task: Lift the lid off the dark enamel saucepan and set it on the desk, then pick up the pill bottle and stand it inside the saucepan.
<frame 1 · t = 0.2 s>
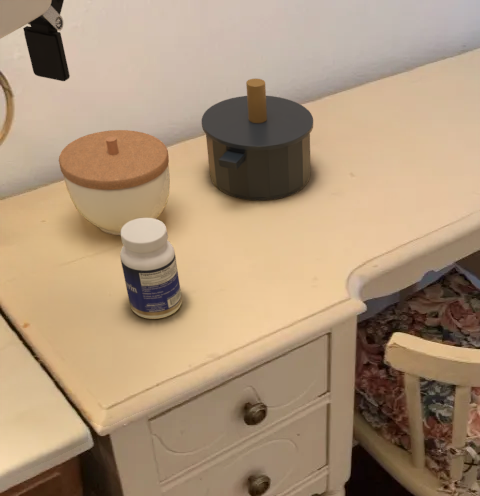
hand: (17, 100, 69), 27 cm above the table, tool pointing down, fingers open, 9 cm apart
pan lid: (258, 123, 110), point 7 cm above the table, touching pan
pan: (260, 174, 115), on the table
lidded bowl: (126, 221, 106), on the table
pill bottle: (156, 306, 94), on the table
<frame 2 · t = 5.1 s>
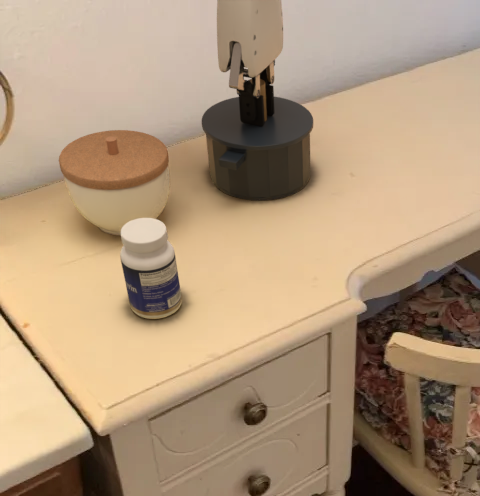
hand: (257, 117, 110), 8 cm above the table, tool pointing down, fingers closed on pan lid, 2 cm apart
pan lid: (258, 123, 110), point 8 cm above the table, touching gripper, pan
everything else where it was.
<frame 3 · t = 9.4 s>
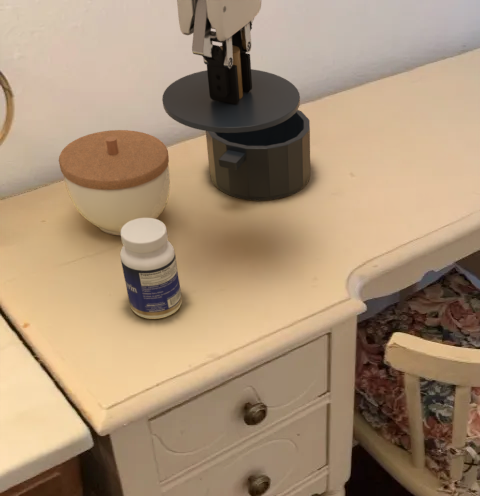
hand: (231, 93, 89), 19 cm above the table, tool pointing down, fingers closed on pan lid, 2 cm apart
pan lid: (232, 101, 90), point 19 cm above the table, touching gripper
everything else where it was.
when the fingers open (1 cm above the table, at t = 13.4 s): pan lid stays where it is, point 1 cm above the table.
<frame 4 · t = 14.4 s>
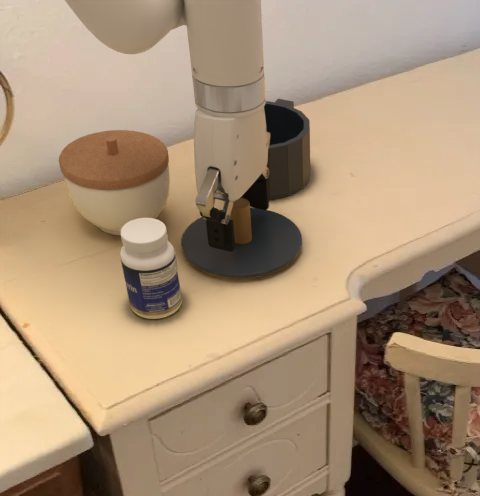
hand: (239, 226, 101), 3 cm above the table, tool pointing down, fingers open, 9 cm apart
pan lid: (242, 243, 102), point 1 cm above the table
everything else where it was.
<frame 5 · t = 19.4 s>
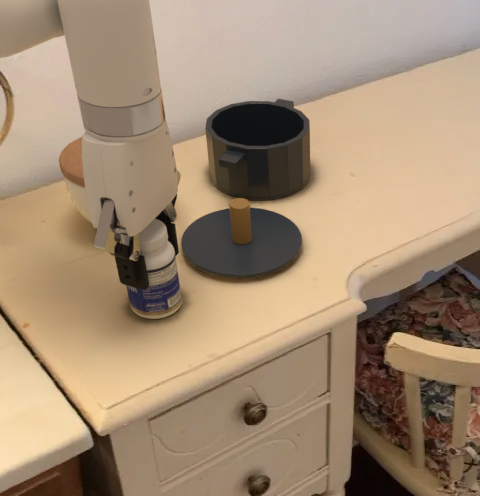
hand: (150, 267, 90), 5 cm above the table, tool pointing down, fingers closed on pill bottle, 5 cm apart
pill bottle: (156, 306, 94), on the table, touching gripper
everything else where it was.
when the fingers open (6 cm above the table, at t = 28.8 s): pill bottle stays where it is, resting on pan.
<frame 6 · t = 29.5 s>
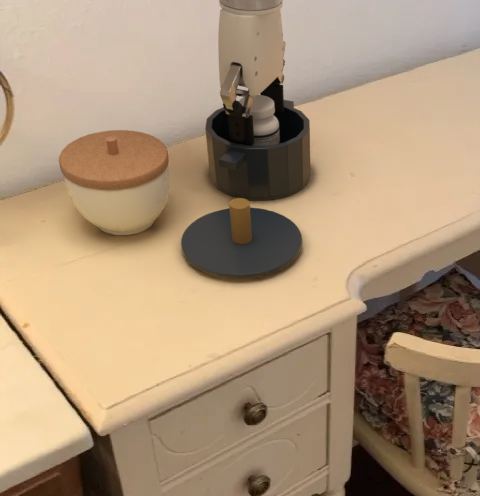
hand: (257, 127, 111), 7 cm above the table, tool pointing down, fingers open, 9 cm apart
pill bottle: (260, 172, 115), resting on pan
everything else where it was.
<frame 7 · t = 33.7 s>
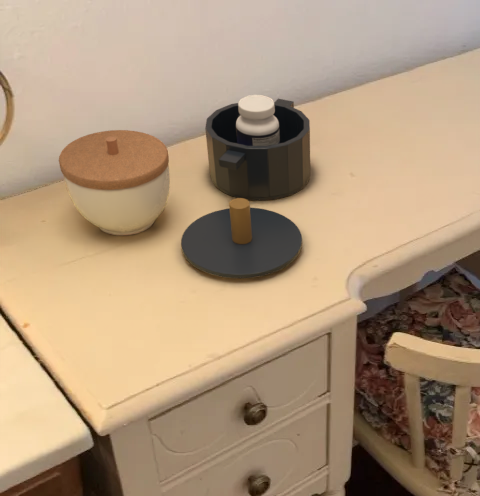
nothing on the table moved.
at the end: pan lid inside the target area (0.1 cm from its centre), point 0.6 cm above the table; pill bottle inside the target area in the pan (0.0 cm from its centre), point 0.3 cm above the pan's base; pill bottle tilted 0° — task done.
